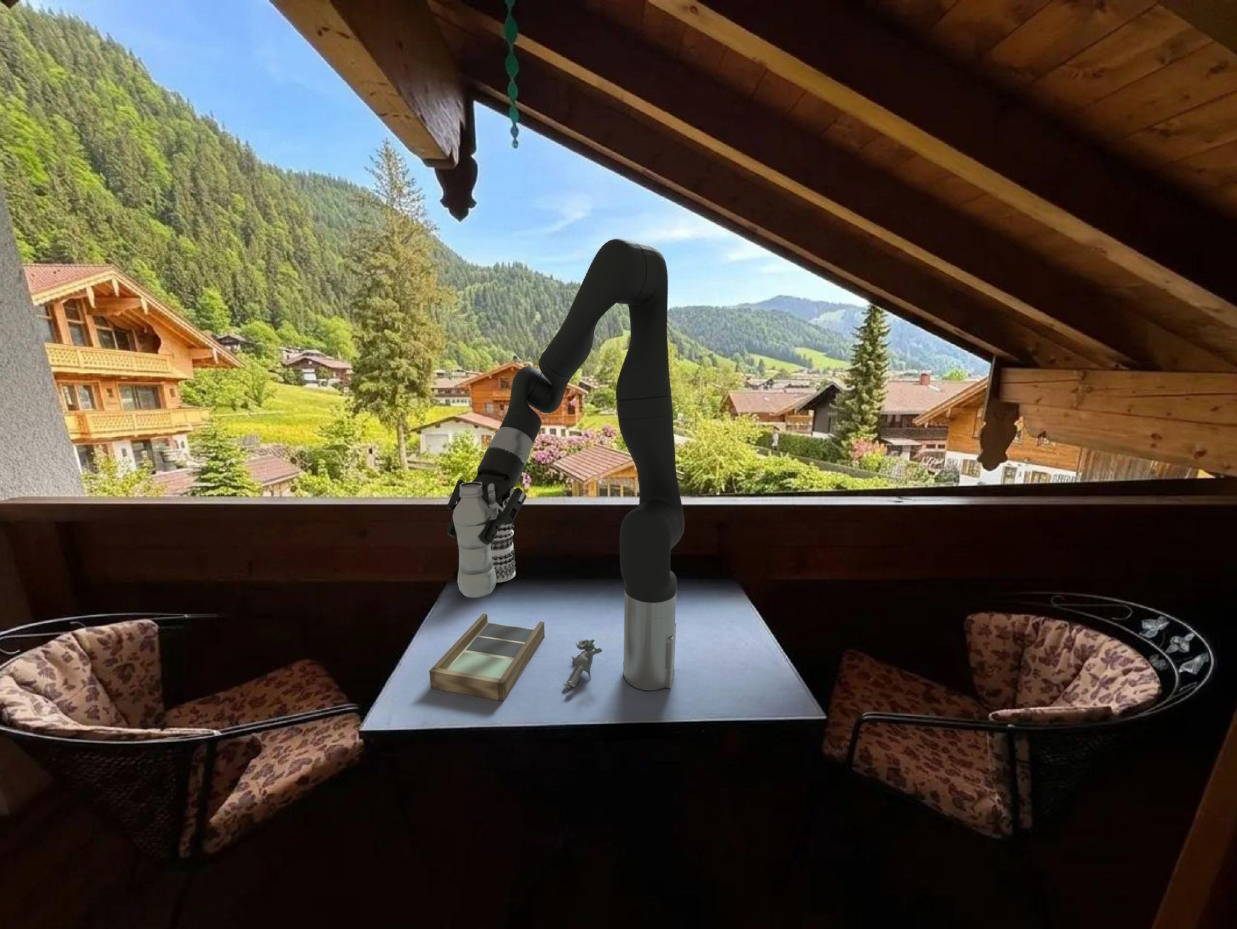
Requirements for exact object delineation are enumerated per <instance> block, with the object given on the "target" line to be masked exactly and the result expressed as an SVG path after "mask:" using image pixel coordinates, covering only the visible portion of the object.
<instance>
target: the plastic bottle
mask: <svg viewBox="0 0 1237 929" xmlns="http://www.w3.org/2000/svg"><path fill="white" fill-rule="evenodd" d="M465 482H466V483H462V484H460V493H459V495H460V497H461V500H460V502H459V503H458V504H457V506H456V508H455V509H454V512H452V517H453V522H454V526H455V530H456V534H457V538H456V539H457V545H458V555H459V556H458V572H457V585H458V589H459V591H460V593H462V595H464V596H465V597H466V598H471V599H472V598H473V599H474V598H475V599H477V598H483V597H486V596H488V595H490V594H491V593H492V592H493V591H494V589H495V588H496V584H497V583H496V574H495V569H494V566H493V561H492V555H491V544H489V545H487V544H484V543H482V542H481V541H480V537H481V535H482V532H483V530H484V528H485V526H486V524H487V523H488V521H489V520H491V514H490V507H489V506H488V504H487V503H486V502H485V501H484V499H483V498H482V495H483V490H482V483H479V482H472V481H465Z"/></svg>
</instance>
